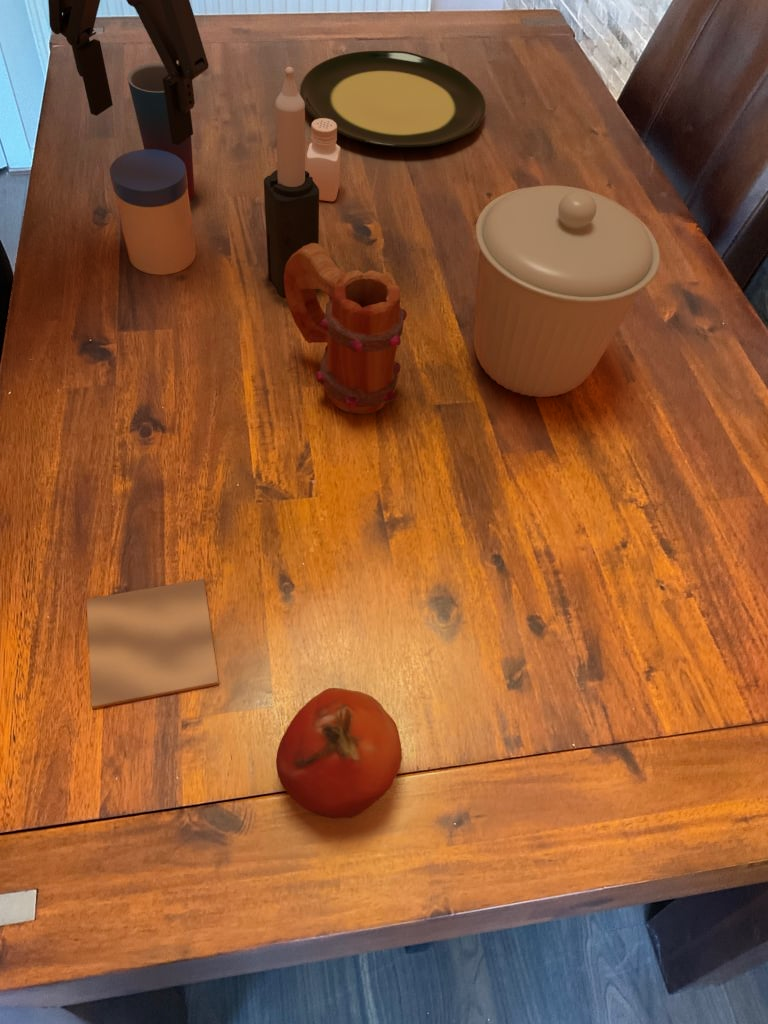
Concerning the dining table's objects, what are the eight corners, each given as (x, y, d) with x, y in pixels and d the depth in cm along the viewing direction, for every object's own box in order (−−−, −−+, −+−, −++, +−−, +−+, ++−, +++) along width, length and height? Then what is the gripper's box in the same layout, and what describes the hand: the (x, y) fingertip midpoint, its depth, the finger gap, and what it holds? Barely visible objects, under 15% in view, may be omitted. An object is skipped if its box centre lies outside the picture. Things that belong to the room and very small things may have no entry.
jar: (114, 260, 96) (96, 178, 87) (155, 226, 100) (141, 146, 92) (170, 283, 94) (156, 202, 86) (209, 248, 99) (199, 168, 90)
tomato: (400, 718, 65) (410, 677, 59) (393, 836, 60) (404, 805, 53) (286, 707, 65) (284, 665, 58) (270, 825, 60) (265, 792, 53)
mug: (415, 399, 86) (433, 286, 74) (364, 439, 82) (374, 326, 70) (318, 332, 91) (320, 215, 79) (266, 366, 88) (259, 250, 75)
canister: (428, 324, 94) (455, 154, 77) (564, 300, 98) (618, 134, 81) (489, 436, 84) (535, 271, 67) (637, 404, 89) (716, 241, 72)
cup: (192, 213, 103) (177, 96, 90) (140, 205, 103) (118, 86, 91) (207, 184, 107) (195, 68, 94) (157, 176, 107) (138, 59, 95)
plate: (309, 57, 129) (309, 41, 127) (480, 74, 130) (482, 58, 128) (290, 151, 113) (290, 133, 111) (486, 170, 114) (489, 153, 112)
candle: (265, 274, 97) (254, 58, 76) (303, 264, 98) (303, 50, 78) (281, 299, 94) (274, 84, 74) (321, 289, 96) (325, 75, 76)
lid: (97, 190, 89) (93, 174, 87) (142, 156, 93) (139, 141, 92) (158, 215, 87) (156, 199, 85) (202, 179, 91) (200, 163, 90)
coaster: (87, 601, 69) (86, 598, 69) (204, 581, 71) (204, 578, 71) (92, 709, 64) (91, 706, 63) (219, 684, 66) (218, 681, 65)
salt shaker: (339, 187, 109) (342, 118, 101) (335, 203, 106) (338, 134, 99) (310, 183, 109) (310, 114, 101) (305, 200, 106) (305, 130, 99)
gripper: (-43, -160, 67) (33, 107, 85) (180, -95, 62) (210, 173, 80) (20, -180, 71) (79, 79, 89) (234, -121, 66) (251, 139, 84)
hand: (141, 123), depth 84 cm, fingers open, 10 cm apart
